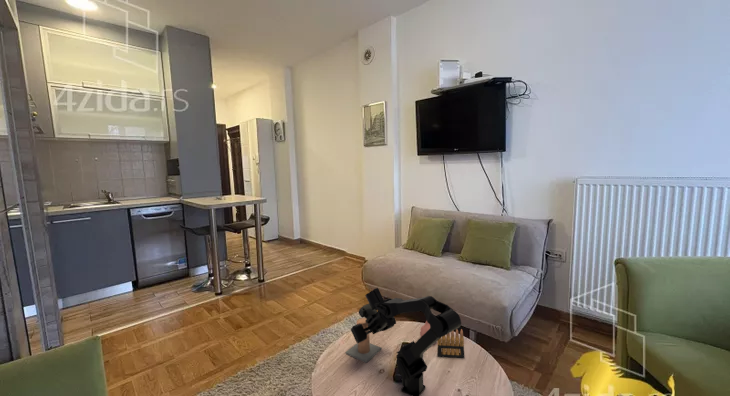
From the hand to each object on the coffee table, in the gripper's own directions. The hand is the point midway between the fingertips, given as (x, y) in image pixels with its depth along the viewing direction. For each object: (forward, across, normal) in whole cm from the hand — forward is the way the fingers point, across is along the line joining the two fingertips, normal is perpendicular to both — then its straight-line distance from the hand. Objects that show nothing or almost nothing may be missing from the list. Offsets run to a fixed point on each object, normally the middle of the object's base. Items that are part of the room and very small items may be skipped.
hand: (365, 334), depth 127 cm
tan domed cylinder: (+6, 0, +4) cm, 8 cm away
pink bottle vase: (-2, -27, +14) cm, 30 cm away
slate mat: (+7, 0, +5) cm, 8 cm away
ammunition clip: (-11, -25, +24) cm, 36 cm away
